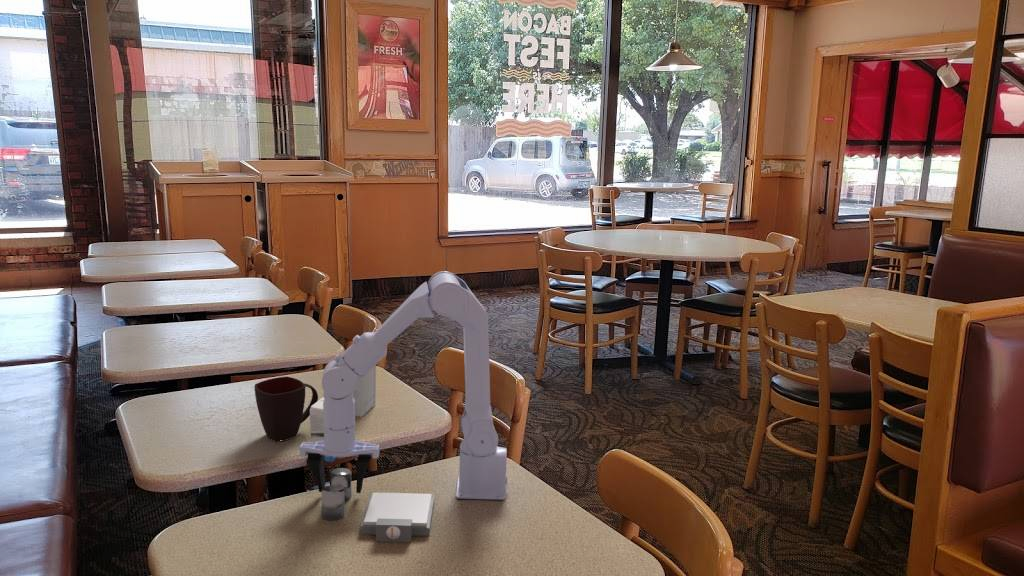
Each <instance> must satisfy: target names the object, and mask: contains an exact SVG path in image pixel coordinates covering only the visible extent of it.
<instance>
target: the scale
mask: <svg viewBox="0 0 1024 576" xmlns="http://www.w3.org/2000/svg"><path fill="white" fill-rule="evenodd" d="M434 507H435V495H433V494H432V493H416V492H415V493H413V492H412V493H410V492H403V493H402V492H377V491H376V492H372V493H370V495H369V499H368V502H367V504H366V508H365V511H364V515H363V517H362V520H361V524H360V535H369V536H370V535H375V542H393V543H411V542H412V537H413V536H414V537H415V536H416V537H419V536H420V537H421V536H422V537H430V533H431V528H432V521H433V520H432V519H433V513H434Z"/></svg>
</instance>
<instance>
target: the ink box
mask: <svg viewBox="0 0 1024 576" xmlns="http://www.w3.org/2000/svg"><path fill="white" fill-rule="evenodd" d="M323 402H324V396H322V397H321V398H320V399H318V401H317V402H316V403H315V404H313V405H312V406H311V408H310V416H309V425H310V426H309V427H310V428H309V429H310V442H317V441H324V416H323ZM337 458H338V457H333V456H328V455H325V462H327V463H328V462H329V463H333V462H334V461H335V460H336V459H337Z"/></svg>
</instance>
